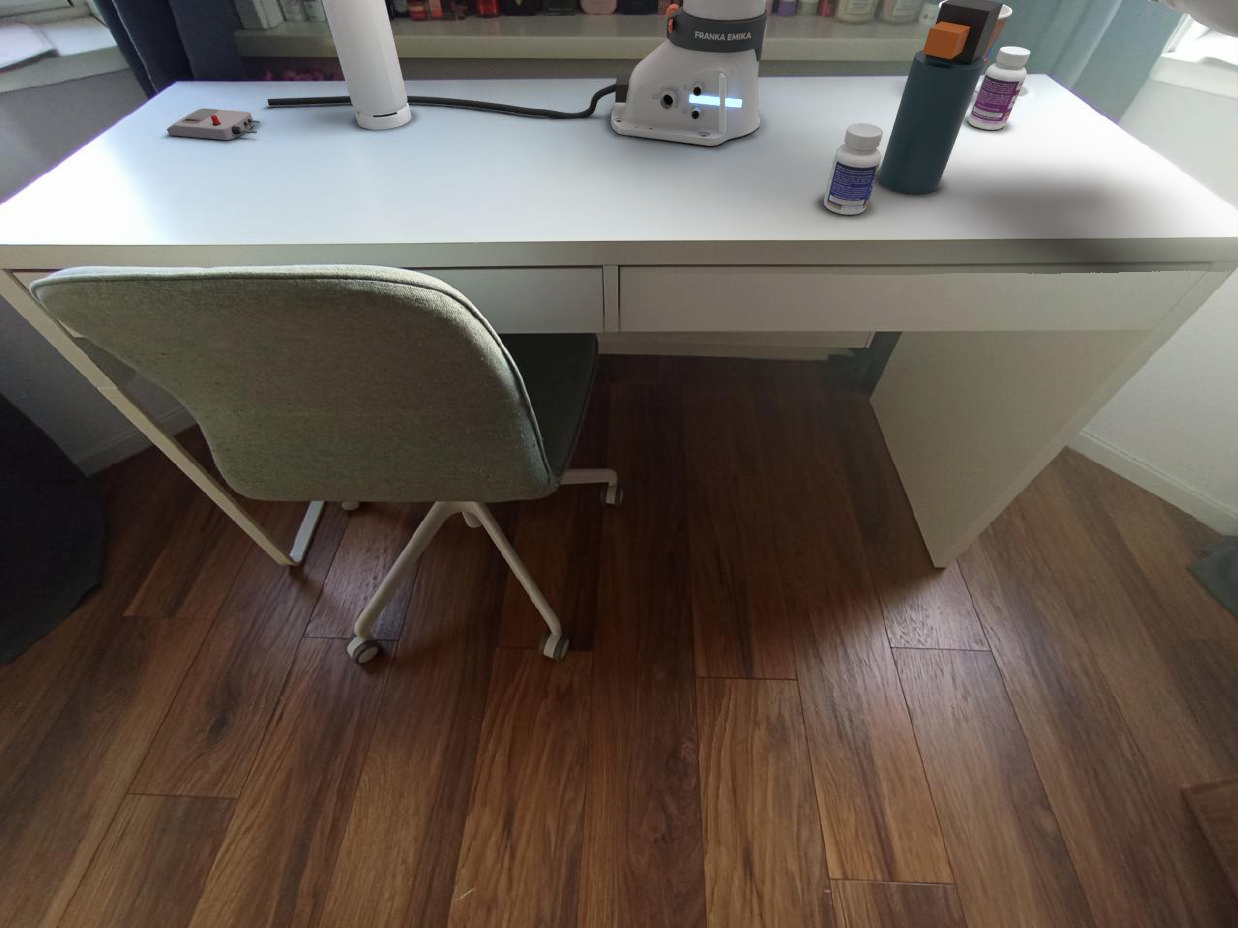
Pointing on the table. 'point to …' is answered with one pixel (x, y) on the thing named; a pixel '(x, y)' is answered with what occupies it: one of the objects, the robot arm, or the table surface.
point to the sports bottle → (937, 102)
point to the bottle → (369, 61)
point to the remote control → (213, 124)
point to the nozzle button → (946, 40)
